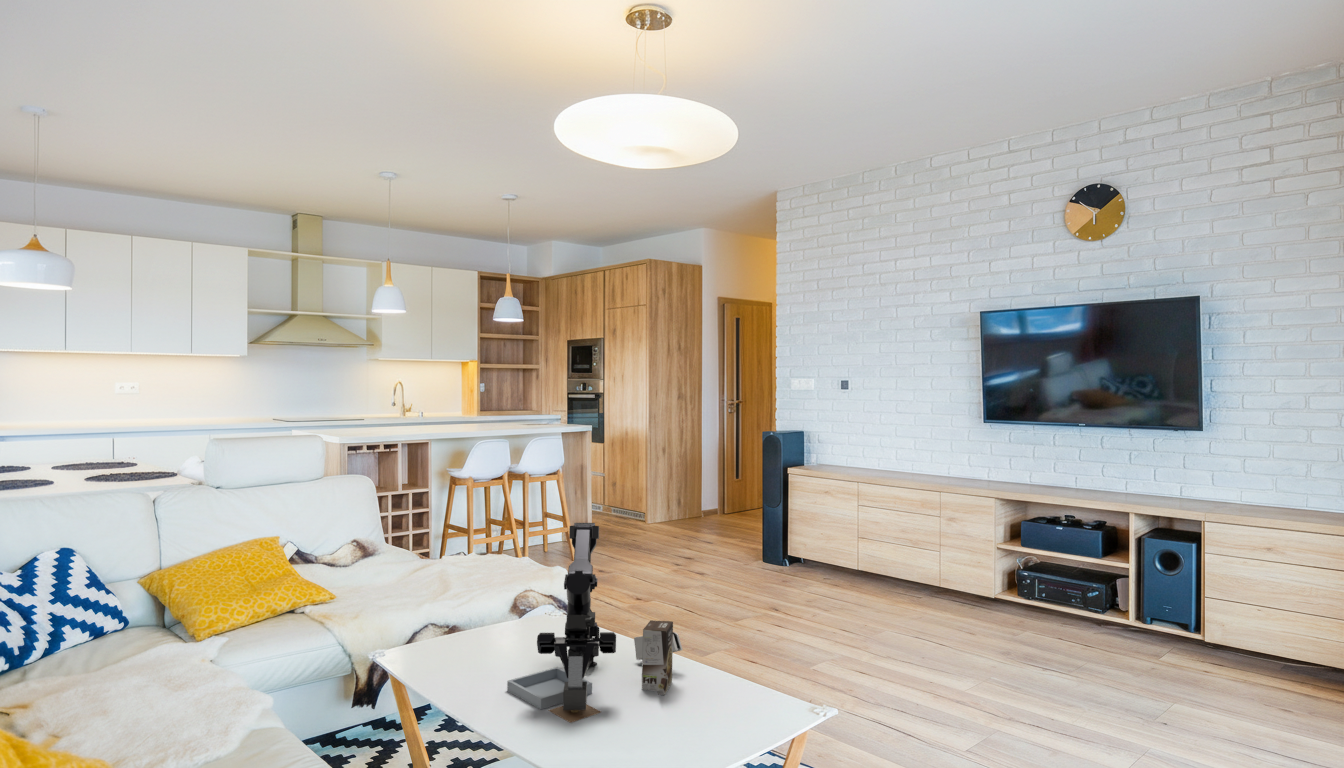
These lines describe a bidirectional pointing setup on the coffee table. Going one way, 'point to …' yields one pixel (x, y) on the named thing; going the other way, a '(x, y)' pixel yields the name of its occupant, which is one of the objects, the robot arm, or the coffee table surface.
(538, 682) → the bin
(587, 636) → the robot arm
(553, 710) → the stud mount
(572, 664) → the strut
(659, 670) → the coffee box
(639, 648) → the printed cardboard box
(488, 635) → the coffee table surface
